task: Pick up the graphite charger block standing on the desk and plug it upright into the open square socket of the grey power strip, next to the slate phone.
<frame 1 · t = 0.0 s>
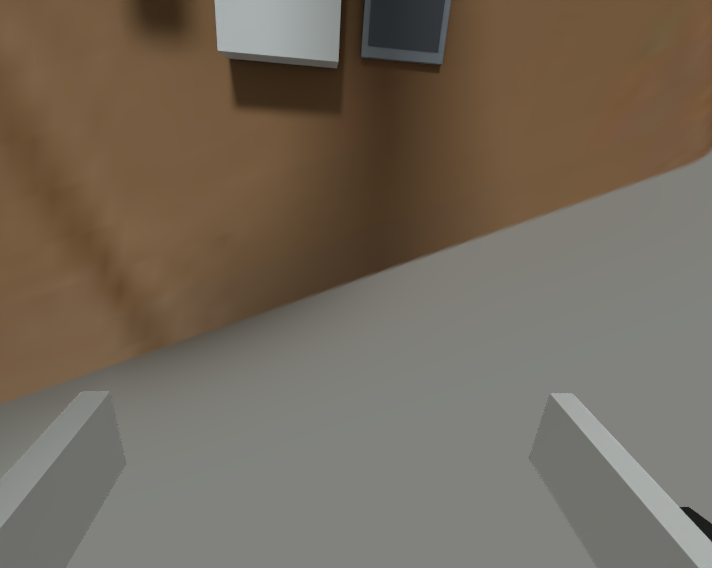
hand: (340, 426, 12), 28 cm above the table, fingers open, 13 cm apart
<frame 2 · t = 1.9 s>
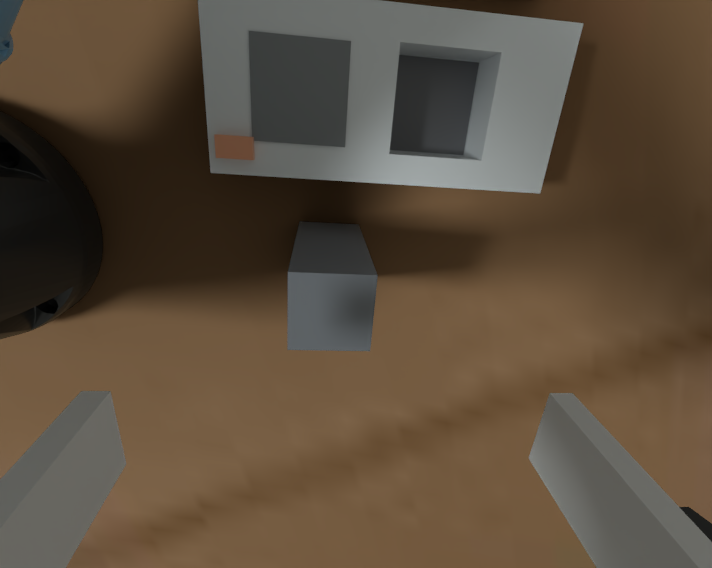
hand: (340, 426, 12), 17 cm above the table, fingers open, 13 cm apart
power strip: (381, 103, 24), on the table
charger: (328, 251, 28), on the table
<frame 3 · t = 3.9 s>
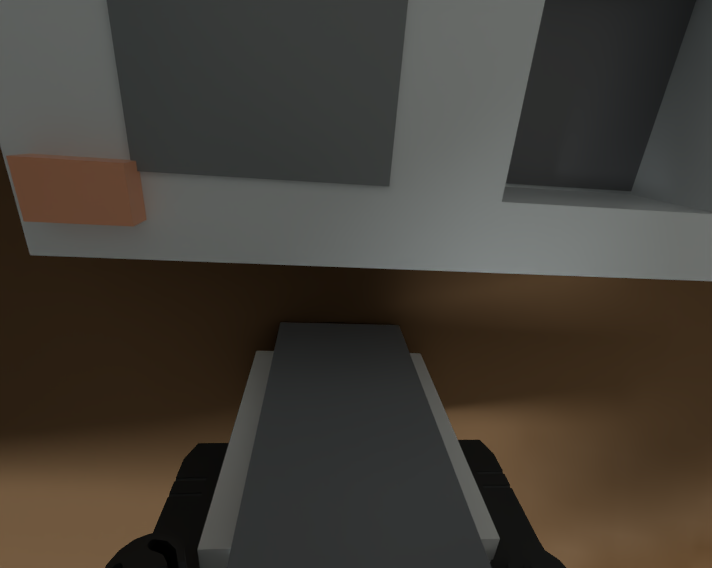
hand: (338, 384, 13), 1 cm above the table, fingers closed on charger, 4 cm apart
power strip: (462, 78, 11), on the table
charger: (337, 373, 14), on the table, touching gripper
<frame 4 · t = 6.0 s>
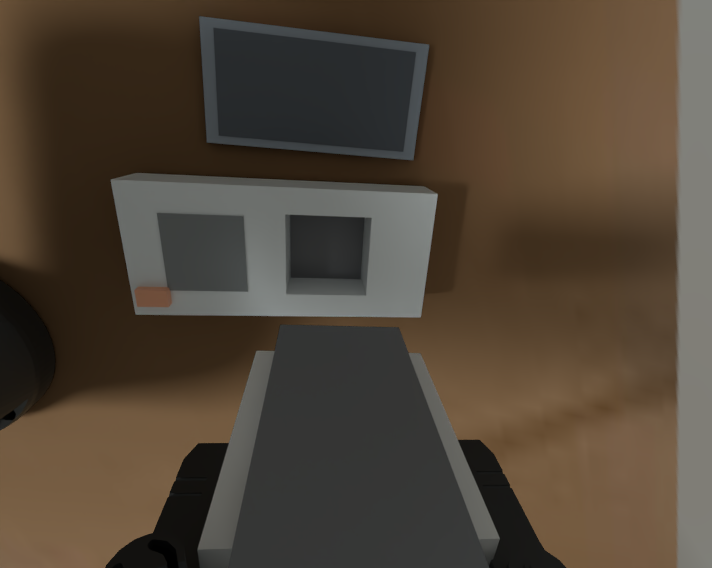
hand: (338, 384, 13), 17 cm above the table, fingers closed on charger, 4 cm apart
power strip: (286, 241, 28), on the table
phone: (315, 95, 25), on the table
charger: (337, 375, 14), point 16 cm above the table, touching gripper
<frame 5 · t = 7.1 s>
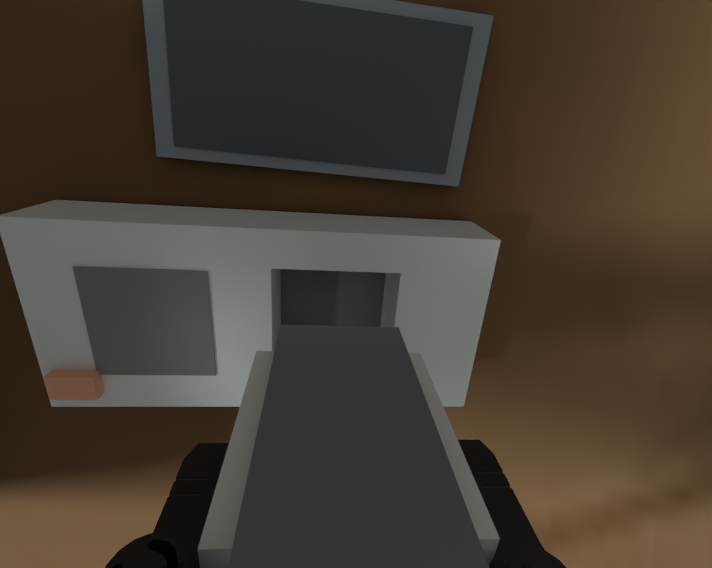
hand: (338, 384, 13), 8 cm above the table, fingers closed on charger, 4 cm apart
power strip: (276, 294, 20), on the table
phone: (319, 90, 17), on the table
charger: (337, 375, 14), point 7 cm above the table, touching gripper
when the fingers open (5 cm above the table, at t = 7.9 s): charger drops 3 cm, resting on power strip.
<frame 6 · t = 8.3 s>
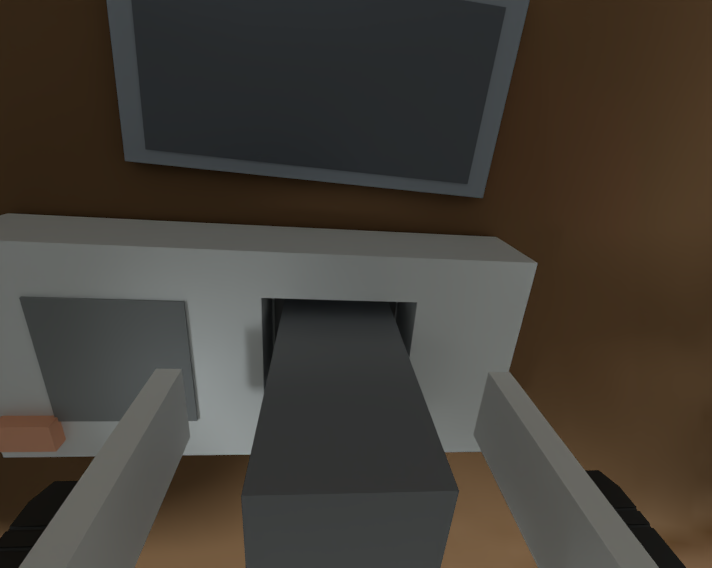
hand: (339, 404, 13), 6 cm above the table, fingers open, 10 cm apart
power strip: (269, 321, 17), on the table
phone: (320, 83, 14), on the table
charger: (334, 330, 17), point 1 cm above the table, touching power strip
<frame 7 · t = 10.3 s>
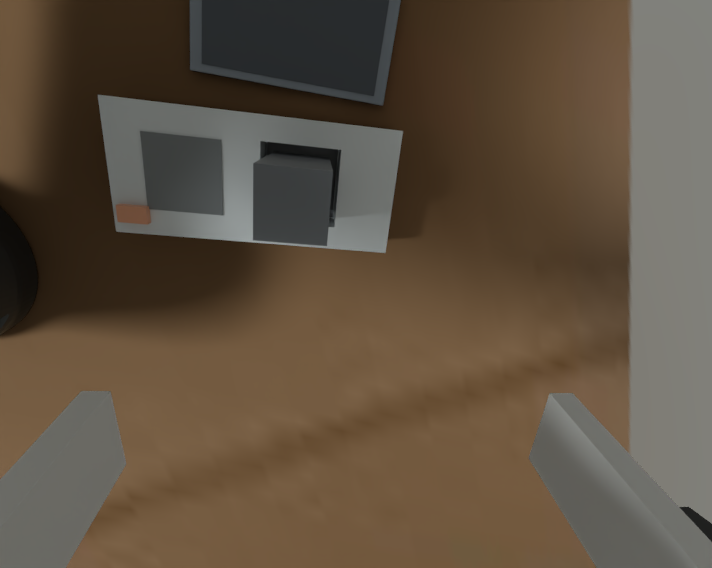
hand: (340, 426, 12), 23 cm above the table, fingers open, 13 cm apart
power strip: (263, 176, 30), on the table
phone: (295, 35, 27), on the table
charger: (300, 181, 30), point 1 cm above the table, touching power strip
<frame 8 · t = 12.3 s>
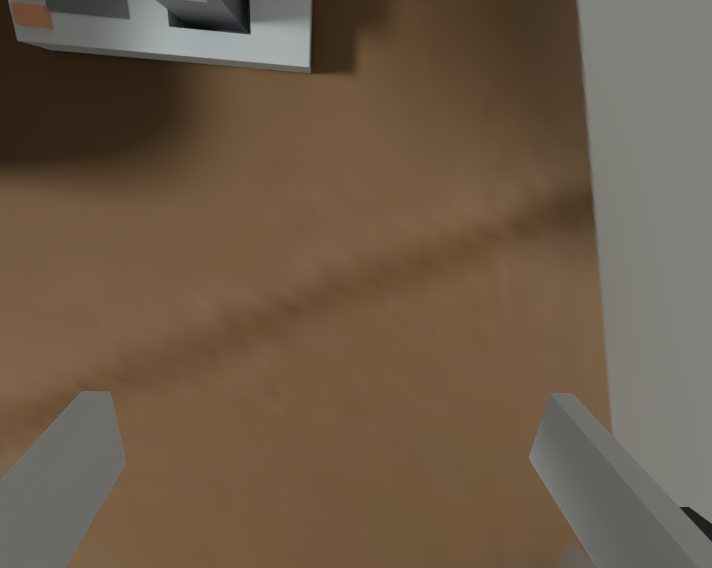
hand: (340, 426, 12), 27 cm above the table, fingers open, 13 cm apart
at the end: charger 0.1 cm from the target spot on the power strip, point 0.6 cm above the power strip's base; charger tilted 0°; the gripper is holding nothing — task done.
